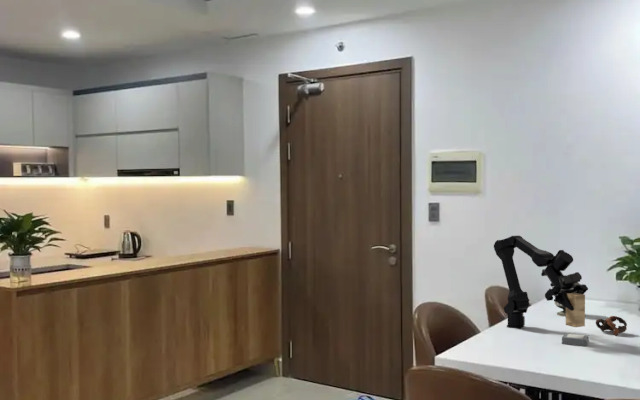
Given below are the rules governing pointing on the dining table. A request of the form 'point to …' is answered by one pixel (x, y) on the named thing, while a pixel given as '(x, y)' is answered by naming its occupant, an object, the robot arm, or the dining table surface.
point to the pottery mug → (611, 325)
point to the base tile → (575, 339)
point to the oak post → (576, 310)
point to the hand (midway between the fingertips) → (577, 309)
